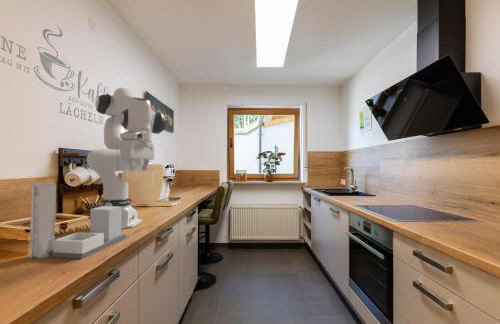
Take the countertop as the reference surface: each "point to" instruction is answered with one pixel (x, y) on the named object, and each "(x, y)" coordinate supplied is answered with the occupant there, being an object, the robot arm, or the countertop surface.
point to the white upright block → (42, 219)
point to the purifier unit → (92, 234)
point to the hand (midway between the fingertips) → (138, 170)
